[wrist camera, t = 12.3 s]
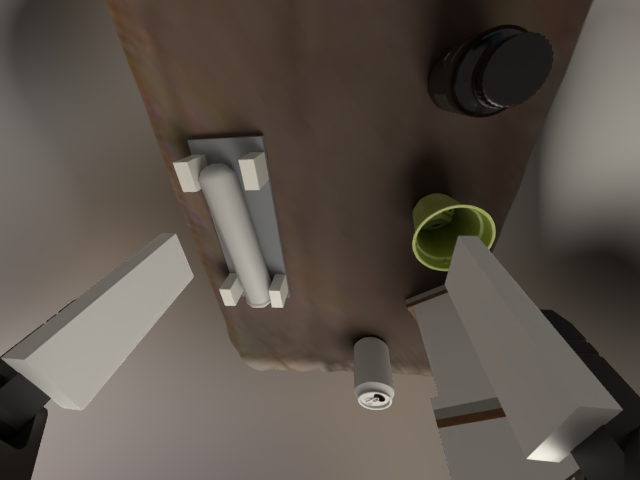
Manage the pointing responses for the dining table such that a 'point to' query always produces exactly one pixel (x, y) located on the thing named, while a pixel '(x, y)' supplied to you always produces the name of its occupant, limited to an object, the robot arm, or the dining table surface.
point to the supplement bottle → (490, 71)
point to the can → (372, 374)
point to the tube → (236, 231)
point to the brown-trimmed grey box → (471, 402)
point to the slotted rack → (259, 197)
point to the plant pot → (446, 228)
